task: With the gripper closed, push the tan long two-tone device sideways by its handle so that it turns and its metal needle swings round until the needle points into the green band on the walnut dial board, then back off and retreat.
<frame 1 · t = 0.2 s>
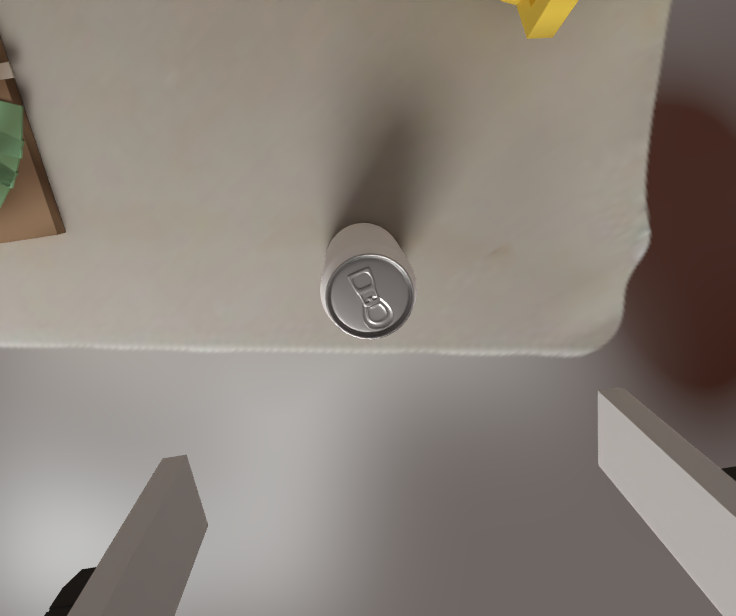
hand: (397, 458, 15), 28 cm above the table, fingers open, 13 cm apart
can: (363, 259, 42), on the table
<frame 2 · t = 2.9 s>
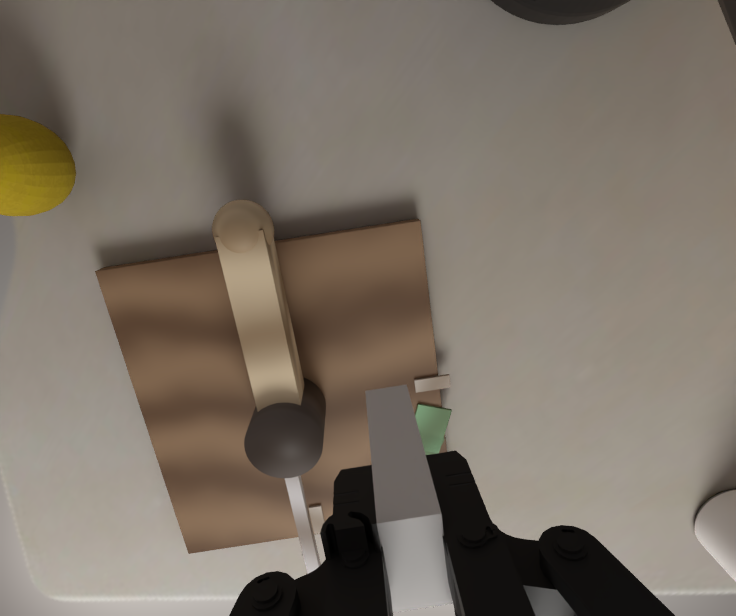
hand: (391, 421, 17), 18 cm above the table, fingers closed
lemon: (56, 165, 31), on the table
dial board: (294, 396, 37), on the table
tan long two-tone device: (283, 404, 32), point 4 cm above the table, hinge at 0.0°
can: (725, 515, 42), on the table
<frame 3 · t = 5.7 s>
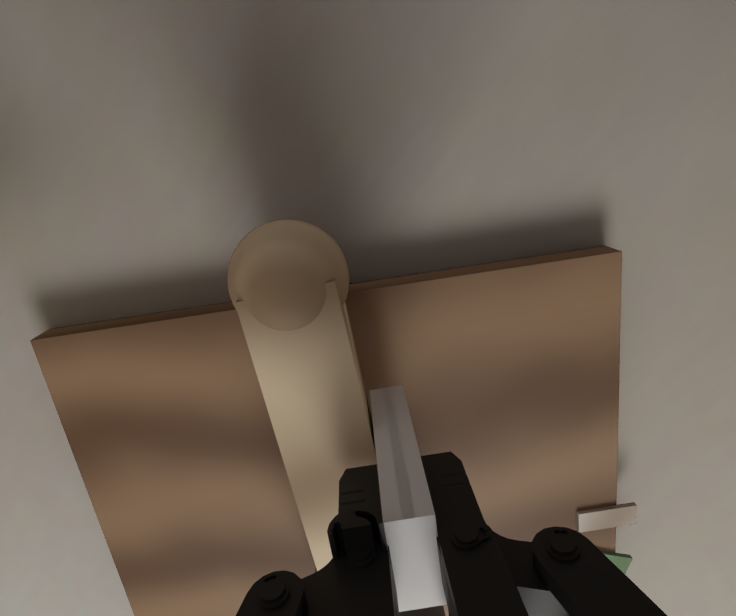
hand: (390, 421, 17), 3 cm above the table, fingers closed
dial board: (371, 532, 22), on the table
tan long two-tone device: (369, 580, 18), point 4 cm above the table, hinge at 3.9°, touching gripper
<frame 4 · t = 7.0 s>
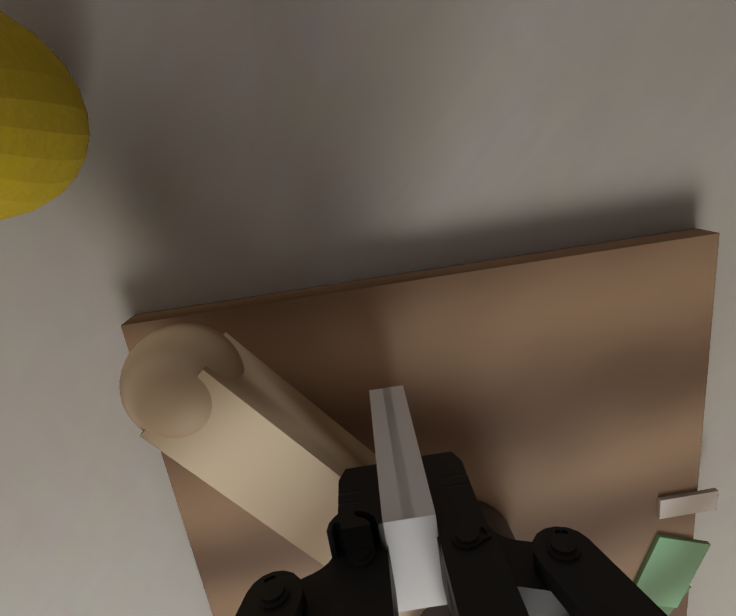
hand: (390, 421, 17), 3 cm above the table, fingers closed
lemon: (47, 123, 16), on the table
dial board: (447, 521, 22), on the table
tan long two-tone device: (443, 578, 18), point 4 cm above the table, hinge at 37.4°, touching gripper
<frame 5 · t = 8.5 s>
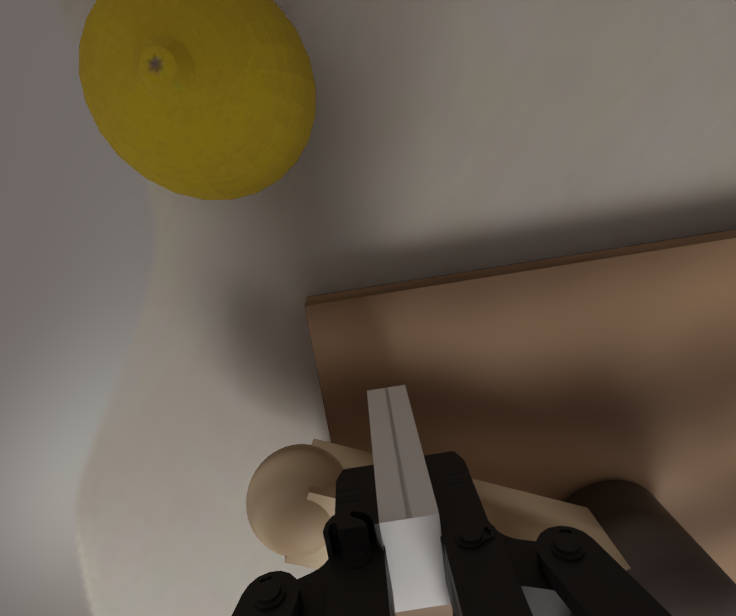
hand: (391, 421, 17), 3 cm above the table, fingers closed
lemon: (241, 109, 17), on the table
dial board: (587, 504, 22), on the table
tan long two-tone device: (603, 570, 18), point 4 cm above the table, hinge at 63.4°, touching gripper
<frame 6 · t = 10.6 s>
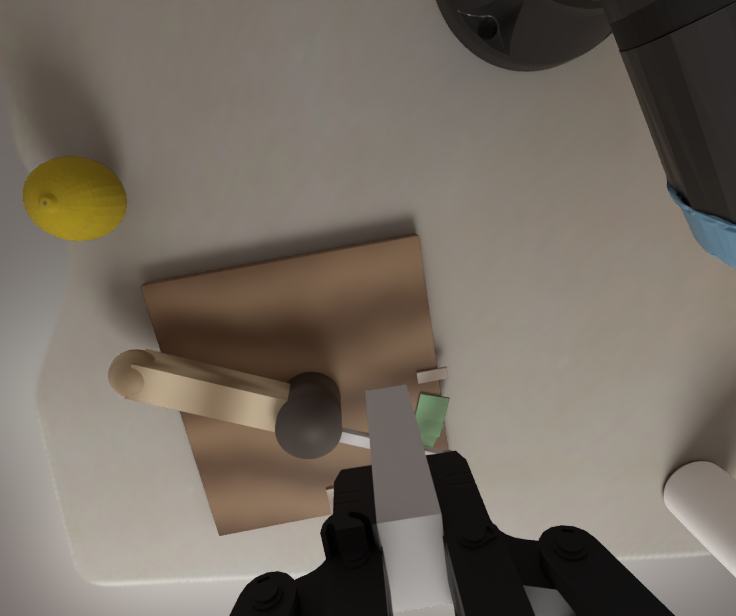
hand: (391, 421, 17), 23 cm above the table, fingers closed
lemon: (106, 195, 36), on the table
dial board: (311, 391, 42), on the table
tan long two-tone device: (289, 409, 38), point 4 cm above the table, hinge at 63.4°
can: (690, 485, 48), on the table
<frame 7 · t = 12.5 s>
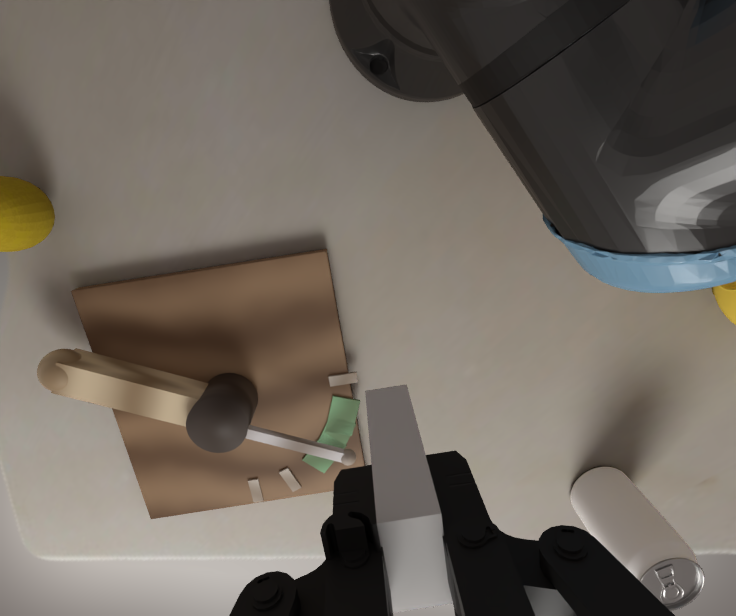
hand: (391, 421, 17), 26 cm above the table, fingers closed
lemon: (40, 208, 40), on the table
dial board: (234, 390, 46), on the table
tan long two-tone device: (204, 407, 42), point 4 cm above the table, hinge at 63.4°
can: (597, 488, 51), on the table
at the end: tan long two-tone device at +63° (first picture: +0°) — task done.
